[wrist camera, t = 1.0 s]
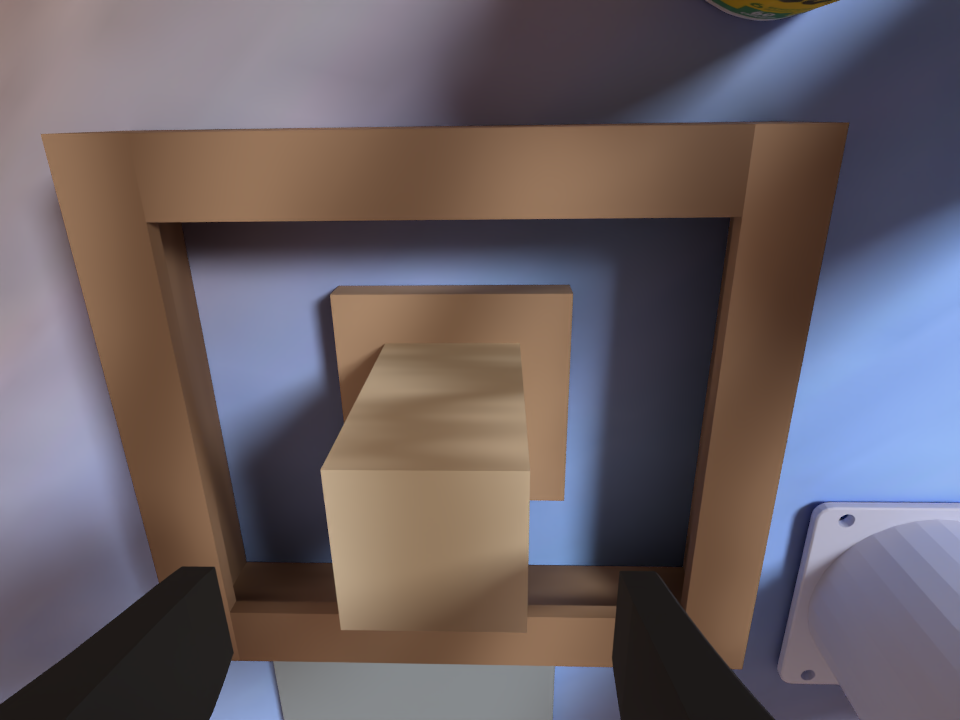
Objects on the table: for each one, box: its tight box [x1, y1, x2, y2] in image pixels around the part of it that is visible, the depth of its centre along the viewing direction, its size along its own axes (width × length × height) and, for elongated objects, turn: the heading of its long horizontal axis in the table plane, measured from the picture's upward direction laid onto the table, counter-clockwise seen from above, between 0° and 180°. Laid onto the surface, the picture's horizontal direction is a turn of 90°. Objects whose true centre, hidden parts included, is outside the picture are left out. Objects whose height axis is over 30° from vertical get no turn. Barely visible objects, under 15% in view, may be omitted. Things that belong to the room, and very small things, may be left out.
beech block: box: [320, 343, 530, 633], centre depth 16 cm, size 4×4×7 cm
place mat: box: [273, 661, 555, 720], centre depth 25 cm, size 11×11×1 cm
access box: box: [41, 121, 849, 669], centre depth 18 cm, size 18×16×4 cm
